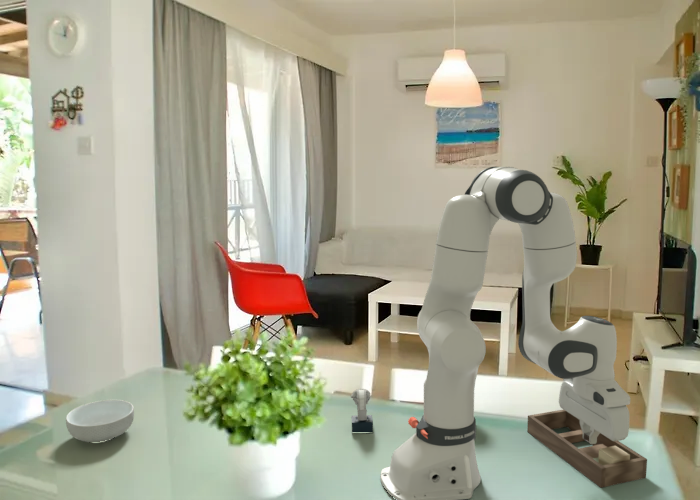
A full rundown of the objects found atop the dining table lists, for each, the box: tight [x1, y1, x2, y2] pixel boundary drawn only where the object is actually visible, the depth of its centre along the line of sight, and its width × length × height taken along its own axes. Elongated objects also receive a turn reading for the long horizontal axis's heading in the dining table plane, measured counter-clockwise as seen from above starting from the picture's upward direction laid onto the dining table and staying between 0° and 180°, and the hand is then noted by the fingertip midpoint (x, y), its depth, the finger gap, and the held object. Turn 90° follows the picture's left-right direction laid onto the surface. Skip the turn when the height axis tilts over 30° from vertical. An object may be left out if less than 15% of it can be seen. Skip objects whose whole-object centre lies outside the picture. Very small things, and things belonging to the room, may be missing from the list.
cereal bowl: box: [65, 399, 135, 443], centre depth 162 cm, size 17×17×7 cm
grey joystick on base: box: [350, 388, 374, 433], centre depth 162 cm, size 6×8×11 cm
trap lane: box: [527, 409, 648, 489], centre depth 147 cm, size 12×28×4 cm, turn 17°
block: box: [598, 446, 630, 466], centre depth 137 cm, size 4×4×4 cm
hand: (589, 441), depth 144 cm, fingers closed
